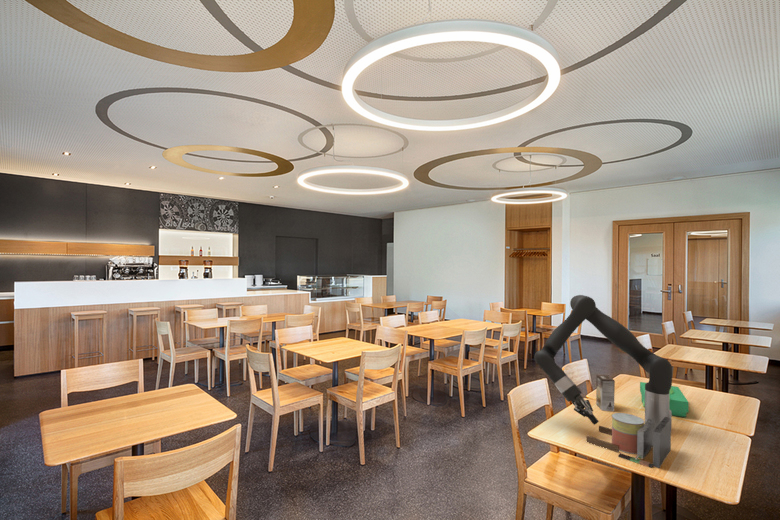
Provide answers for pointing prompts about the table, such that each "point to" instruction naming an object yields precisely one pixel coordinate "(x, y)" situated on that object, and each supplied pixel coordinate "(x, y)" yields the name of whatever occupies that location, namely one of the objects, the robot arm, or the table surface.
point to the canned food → (626, 431)
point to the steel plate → (645, 439)
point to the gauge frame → (659, 444)
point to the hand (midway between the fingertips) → (596, 423)
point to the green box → (672, 400)
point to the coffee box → (605, 392)
